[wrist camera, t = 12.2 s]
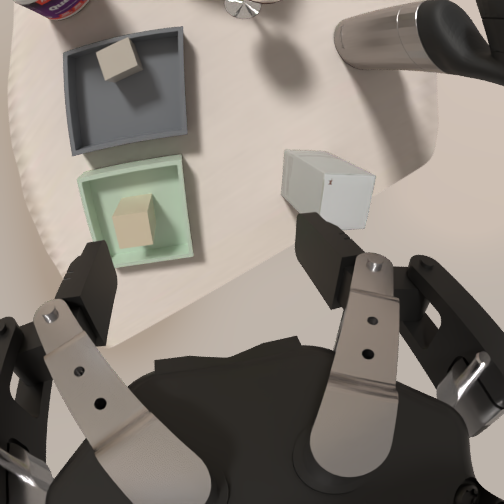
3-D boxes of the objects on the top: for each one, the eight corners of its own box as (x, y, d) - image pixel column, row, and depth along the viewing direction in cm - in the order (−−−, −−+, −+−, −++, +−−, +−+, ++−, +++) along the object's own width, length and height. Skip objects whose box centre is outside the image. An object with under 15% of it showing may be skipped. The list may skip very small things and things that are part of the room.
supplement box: (279, 195, 42) (314, 233, 31) (283, 148, 38) (324, 171, 28) (322, 195, 44) (365, 230, 33) (328, 150, 40) (377, 174, 29)
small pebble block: (134, 44, 25) (128, 37, 21) (143, 69, 27) (137, 65, 23) (106, 58, 25) (95, 52, 20) (115, 82, 27) (105, 80, 23)
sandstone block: (151, 193, 36) (147, 211, 31) (156, 222, 39) (153, 244, 33) (121, 197, 35) (111, 216, 30) (127, 226, 38) (119, 249, 32)
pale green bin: (181, 154, 35) (181, 159, 32) (192, 244, 43) (193, 256, 40) (84, 171, 32) (76, 178, 29) (106, 257, 40) (102, 269, 37)
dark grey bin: (182, 32, 26) (183, 26, 23) (187, 131, 34) (187, 134, 31) (72, 55, 23) (63, 52, 20) (81, 150, 31) (72, 156, 28)
